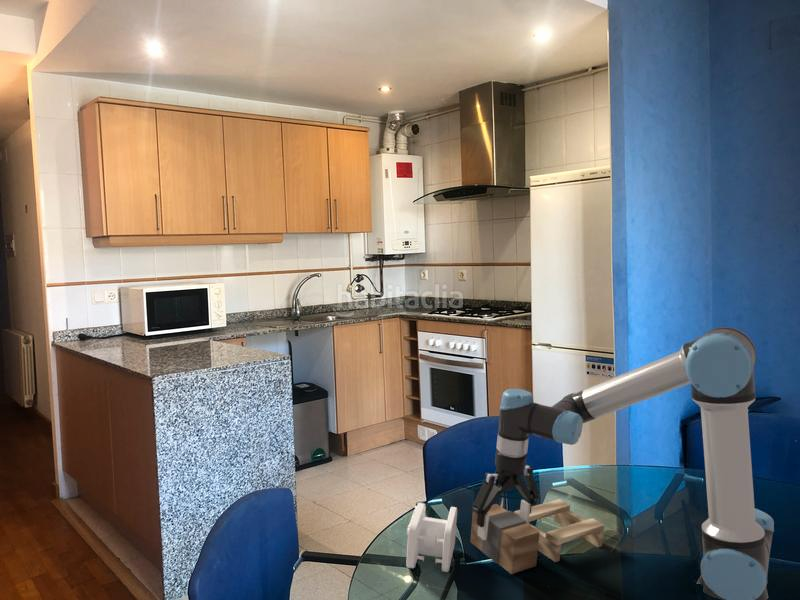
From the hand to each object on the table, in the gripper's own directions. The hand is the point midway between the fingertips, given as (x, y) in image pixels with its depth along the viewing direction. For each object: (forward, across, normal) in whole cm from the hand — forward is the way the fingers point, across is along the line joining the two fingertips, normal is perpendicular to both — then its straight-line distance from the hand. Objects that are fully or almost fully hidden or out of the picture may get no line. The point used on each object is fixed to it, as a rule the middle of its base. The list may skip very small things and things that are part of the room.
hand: (503, 531), depth 162 cm
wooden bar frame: (+6, -18, +1) cm, 19 cm away
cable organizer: (+6, +18, -6) cm, 20 cm away
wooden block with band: (+6, 0, 0) cm, 6 cm away
